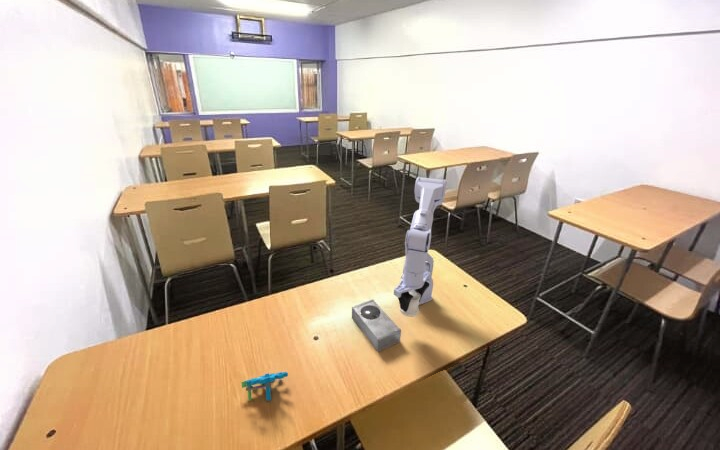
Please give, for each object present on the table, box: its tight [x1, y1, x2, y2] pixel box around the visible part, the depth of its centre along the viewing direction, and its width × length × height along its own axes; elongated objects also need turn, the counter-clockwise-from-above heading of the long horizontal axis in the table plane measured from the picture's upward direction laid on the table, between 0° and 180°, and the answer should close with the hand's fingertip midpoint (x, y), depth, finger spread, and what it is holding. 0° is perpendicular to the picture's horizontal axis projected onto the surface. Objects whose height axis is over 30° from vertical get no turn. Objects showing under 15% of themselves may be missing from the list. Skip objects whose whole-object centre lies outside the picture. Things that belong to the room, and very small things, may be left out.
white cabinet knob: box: [399, 290, 421, 318], centre depth 91 cm, size 6×6×6 cm
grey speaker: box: [351, 299, 402, 352], centre depth 94 cm, size 8×16×5 cm, turn 30°
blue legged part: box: [241, 371, 289, 402], centre depth 74 cm, size 11×6×10 cm
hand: (409, 305), depth 92 cm, fingers closed on white cabinet knob, 5 cm apart
